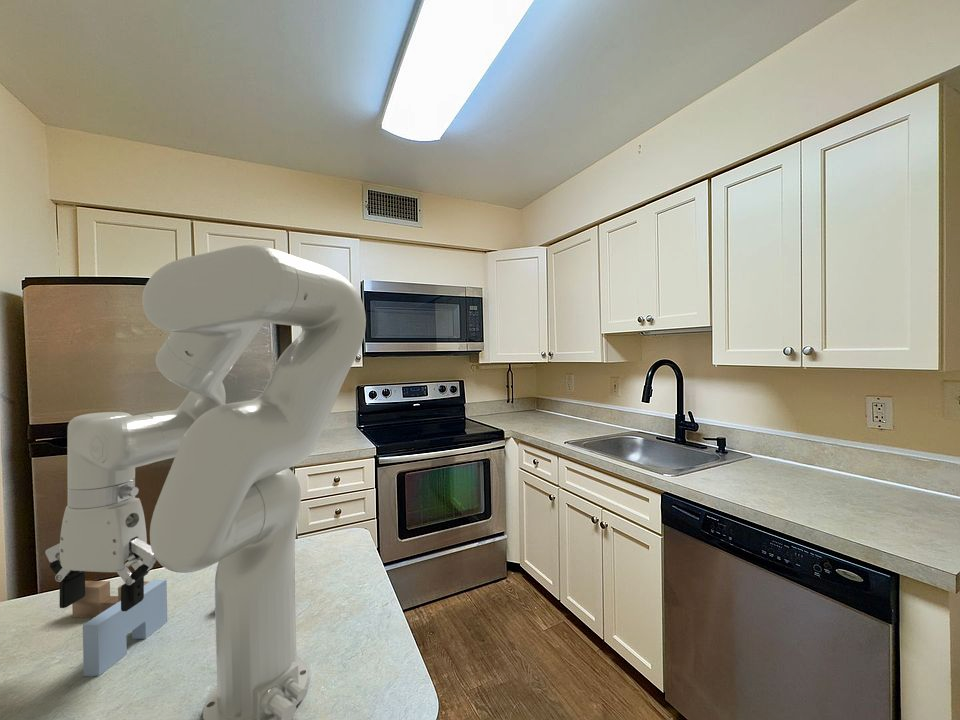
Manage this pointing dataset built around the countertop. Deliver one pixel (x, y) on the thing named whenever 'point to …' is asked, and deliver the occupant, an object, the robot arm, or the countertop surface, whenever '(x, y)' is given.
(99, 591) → the walnut slot plate
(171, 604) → the countertop surface
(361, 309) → the robot arm
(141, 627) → the blue slot plate
